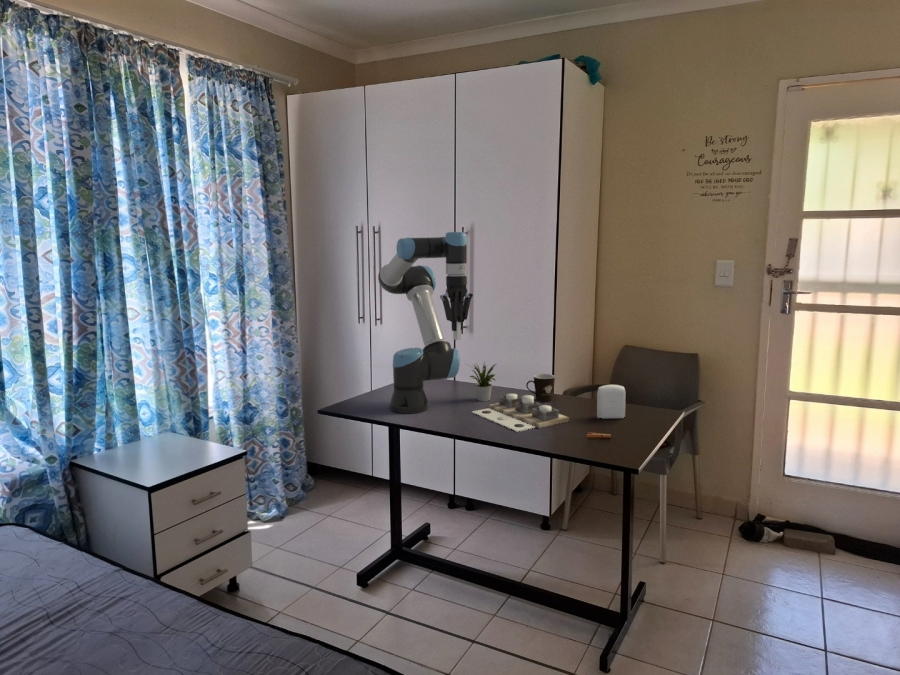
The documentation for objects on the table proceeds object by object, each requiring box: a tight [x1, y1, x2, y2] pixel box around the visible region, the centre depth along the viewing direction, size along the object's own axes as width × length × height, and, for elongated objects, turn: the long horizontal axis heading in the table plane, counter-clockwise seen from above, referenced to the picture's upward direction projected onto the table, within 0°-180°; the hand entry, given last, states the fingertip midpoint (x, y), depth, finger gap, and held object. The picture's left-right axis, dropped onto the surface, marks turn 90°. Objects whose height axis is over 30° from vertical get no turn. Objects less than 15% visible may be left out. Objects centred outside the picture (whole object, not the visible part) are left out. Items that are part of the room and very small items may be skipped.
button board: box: [489, 395, 570, 429], centre depth 239 cm, size 30×14×4 cm, turn 32°
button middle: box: [521, 394, 535, 406], centre depth 238 cm, size 4×4×4 cm
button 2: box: [539, 404, 553, 412], centre depth 230 cm, size 4×4×4 cm
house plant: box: [464, 361, 498, 402], centre depth 258 cm, size 14×14×16 cm
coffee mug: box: [525, 373, 556, 403], centre depth 258 cm, size 12×9×10 cm
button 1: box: [505, 392, 518, 400], centre depth 247 cm, size 4×4×4 cm
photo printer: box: [596, 384, 627, 419], centre depth 233 cm, size 10×4×12 cm, turn 89°
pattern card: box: [471, 407, 536, 433], centre depth 233 cm, size 28×8×1 cm, turn 32°
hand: (457, 339), depth 233 cm, fingers closed
